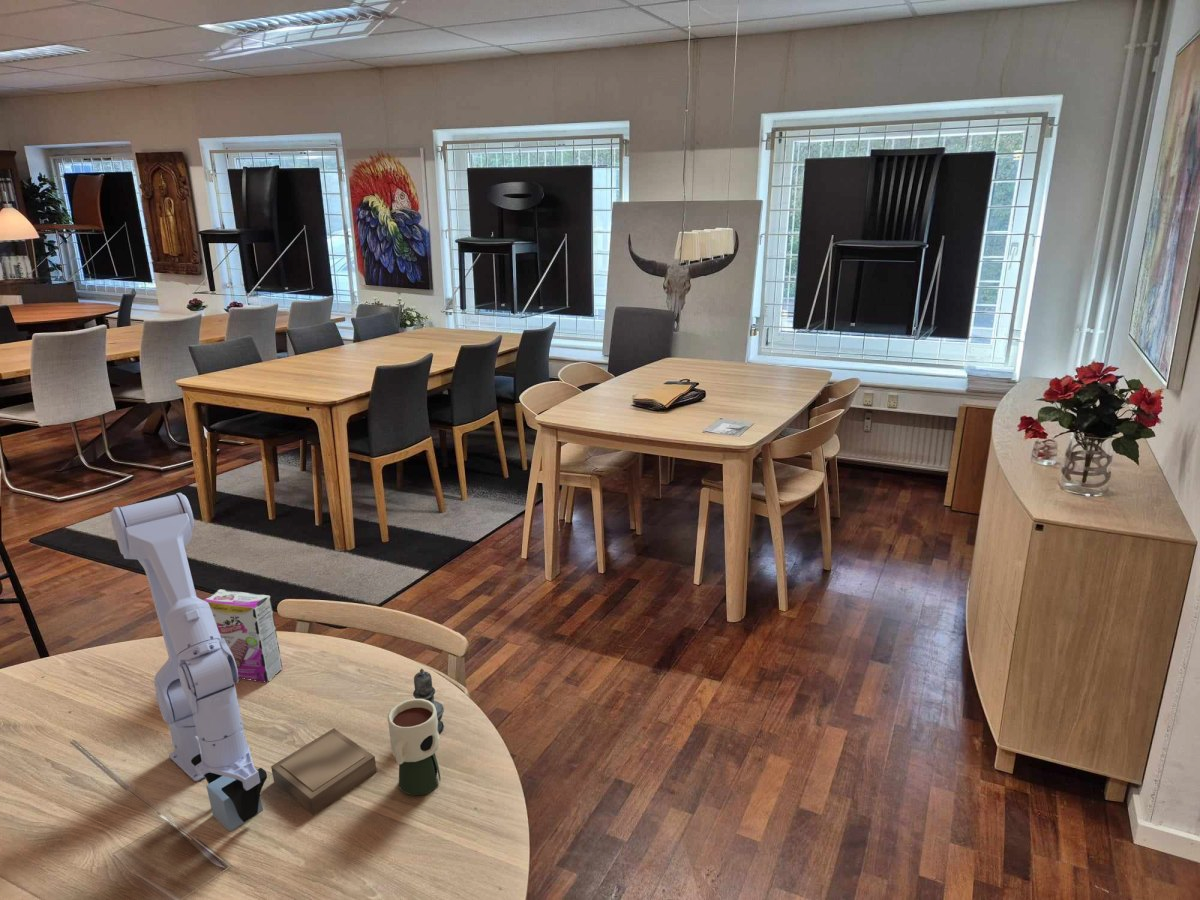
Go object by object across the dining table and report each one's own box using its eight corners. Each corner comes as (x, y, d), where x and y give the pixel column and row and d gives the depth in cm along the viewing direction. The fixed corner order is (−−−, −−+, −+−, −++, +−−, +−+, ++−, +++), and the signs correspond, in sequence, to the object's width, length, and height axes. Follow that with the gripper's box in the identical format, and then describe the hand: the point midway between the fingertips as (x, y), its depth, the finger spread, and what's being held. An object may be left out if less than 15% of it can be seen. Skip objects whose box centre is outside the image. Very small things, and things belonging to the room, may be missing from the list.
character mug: (426, 814, 110) (418, 740, 106) (382, 807, 111) (372, 734, 107) (455, 762, 120) (449, 693, 116) (414, 756, 121) (406, 688, 117)
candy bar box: (216, 677, 143) (200, 601, 137) (234, 662, 147) (219, 587, 142) (267, 684, 140) (253, 607, 135) (284, 669, 145) (271, 593, 140)
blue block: (213, 815, 110) (206, 785, 109) (245, 795, 114) (239, 765, 112) (229, 832, 107) (223, 801, 106) (263, 810, 111) (257, 780, 109)
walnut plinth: (273, 782, 116) (270, 765, 115) (336, 743, 125) (333, 727, 124) (313, 815, 110) (310, 798, 109) (376, 771, 118) (374, 755, 117)
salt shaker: (437, 742, 124) (430, 681, 120) (404, 738, 125) (396, 677, 122) (451, 719, 130) (445, 660, 126) (419, 716, 131) (412, 656, 127)
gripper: (167, 722, 107) (185, 798, 112) (216, 766, 99) (234, 846, 103) (216, 697, 112) (232, 771, 117) (267, 737, 104) (282, 815, 108)
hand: (236, 804), depth 110 cm, fingers open, 7 cm apart
